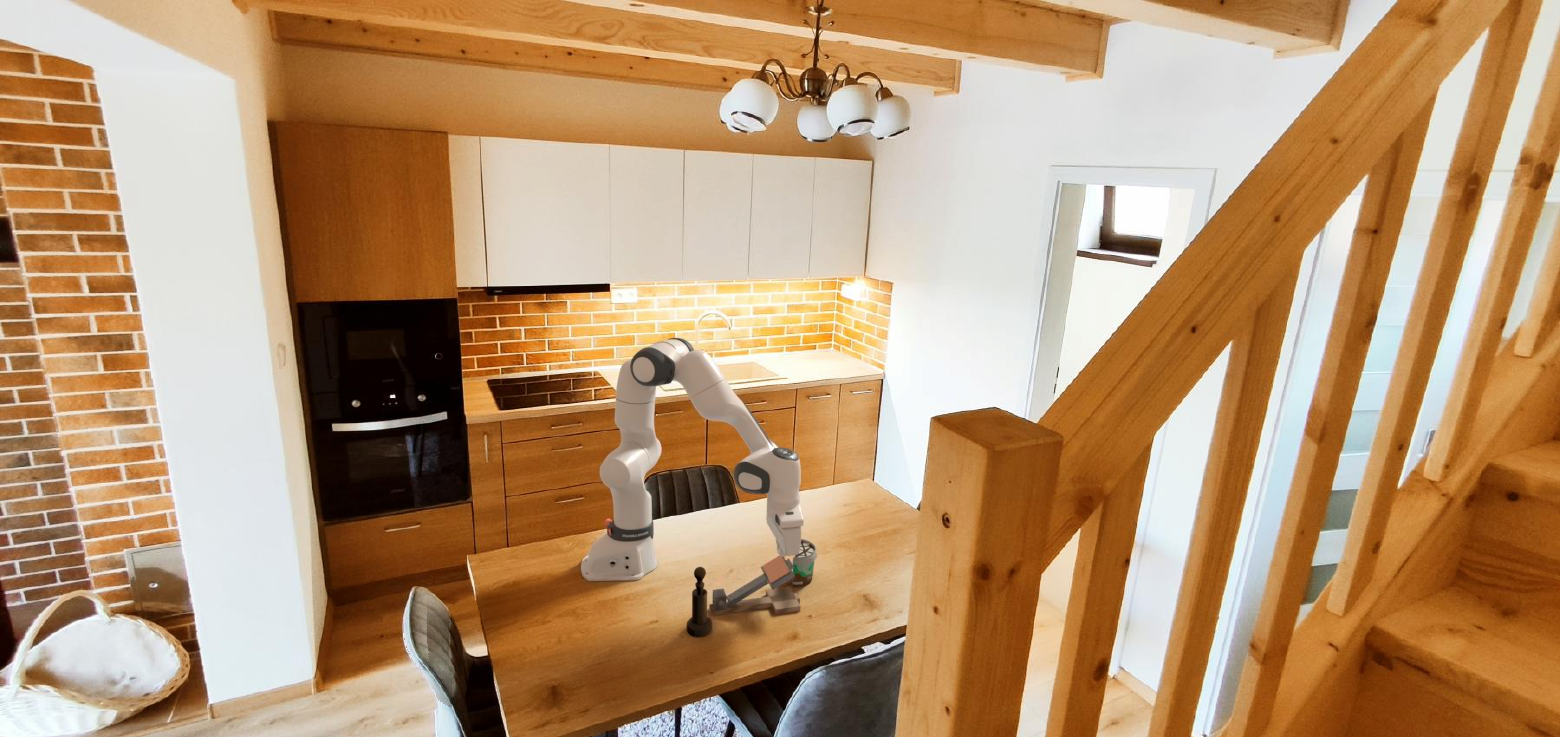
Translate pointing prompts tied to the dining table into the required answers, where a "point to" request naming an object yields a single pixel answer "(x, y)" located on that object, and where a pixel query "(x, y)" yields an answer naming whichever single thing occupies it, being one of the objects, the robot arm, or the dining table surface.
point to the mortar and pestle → (699, 608)
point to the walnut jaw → (757, 602)
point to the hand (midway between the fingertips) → (781, 554)
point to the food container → (804, 564)
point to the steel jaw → (765, 579)
